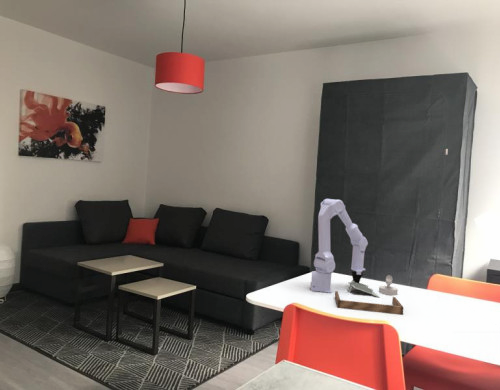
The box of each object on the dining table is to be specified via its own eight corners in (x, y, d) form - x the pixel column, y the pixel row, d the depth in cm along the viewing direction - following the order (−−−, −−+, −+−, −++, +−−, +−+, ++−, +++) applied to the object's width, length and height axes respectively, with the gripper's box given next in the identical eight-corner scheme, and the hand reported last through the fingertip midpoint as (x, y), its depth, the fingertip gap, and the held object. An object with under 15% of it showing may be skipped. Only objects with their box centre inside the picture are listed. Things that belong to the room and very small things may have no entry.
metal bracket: (354, 284, 193) (346, 277, 208) (350, 295, 194) (342, 287, 209) (383, 294, 194) (373, 286, 209) (379, 306, 194) (369, 297, 209)
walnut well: (337, 307, 172) (338, 300, 171) (334, 297, 187) (335, 291, 187) (402, 314, 168) (403, 307, 168) (394, 303, 184) (395, 297, 184)
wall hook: (380, 274, 200) (380, 271, 210) (378, 294, 200) (379, 289, 210) (398, 276, 197) (398, 273, 207) (397, 296, 198) (397, 292, 207)
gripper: (368, 262, 201) (366, 290, 202) (364, 257, 216) (362, 283, 216) (353, 261, 202) (351, 289, 203) (350, 256, 217) (348, 282, 217)
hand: (355, 286), depth 209 cm, fingers closed
